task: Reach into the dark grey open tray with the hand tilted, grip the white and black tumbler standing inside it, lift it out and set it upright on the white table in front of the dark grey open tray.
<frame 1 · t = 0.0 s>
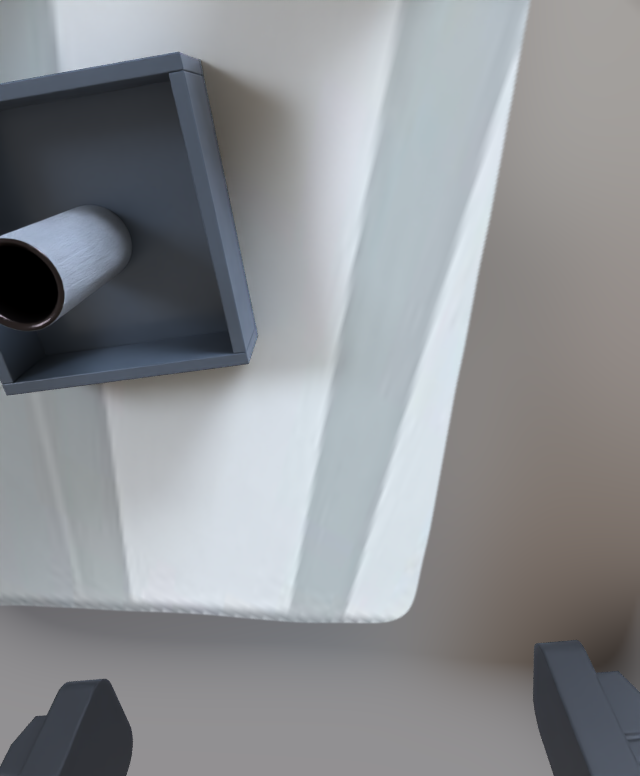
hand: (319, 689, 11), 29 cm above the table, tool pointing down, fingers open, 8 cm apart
white and black tumbler: (98, 240, 36), resting on dark grey open tray
dark grey open tray: (111, 230, 36), on the table
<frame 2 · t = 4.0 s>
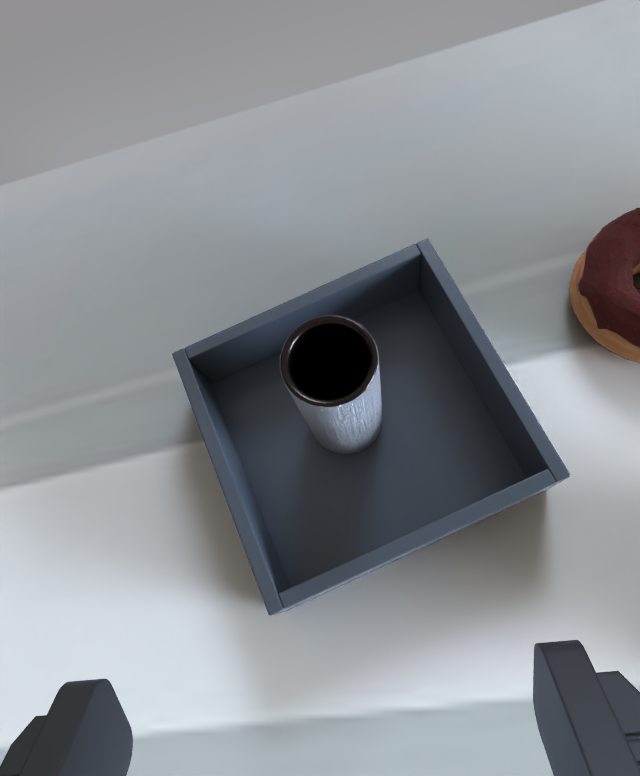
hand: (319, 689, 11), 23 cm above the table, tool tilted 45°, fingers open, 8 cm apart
white and black tumbler: (346, 420, 36), resting on dark grey open tray
dark grey open tray: (360, 431, 35), on the table
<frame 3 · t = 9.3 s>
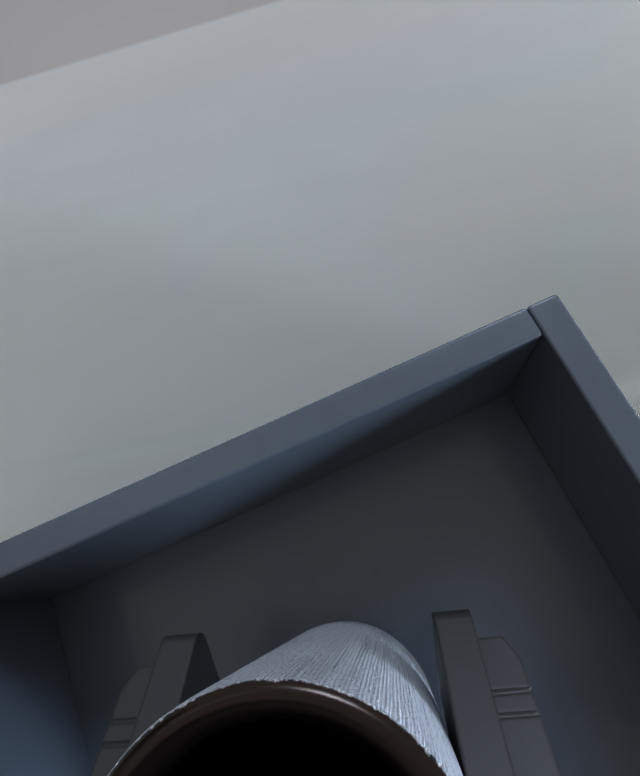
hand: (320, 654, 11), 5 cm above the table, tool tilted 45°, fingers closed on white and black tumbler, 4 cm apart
white and black tumbler: (348, 709, 15), resting on dark grey open tray, touching gripper
dark grey open tray: (381, 740, 15), on the table
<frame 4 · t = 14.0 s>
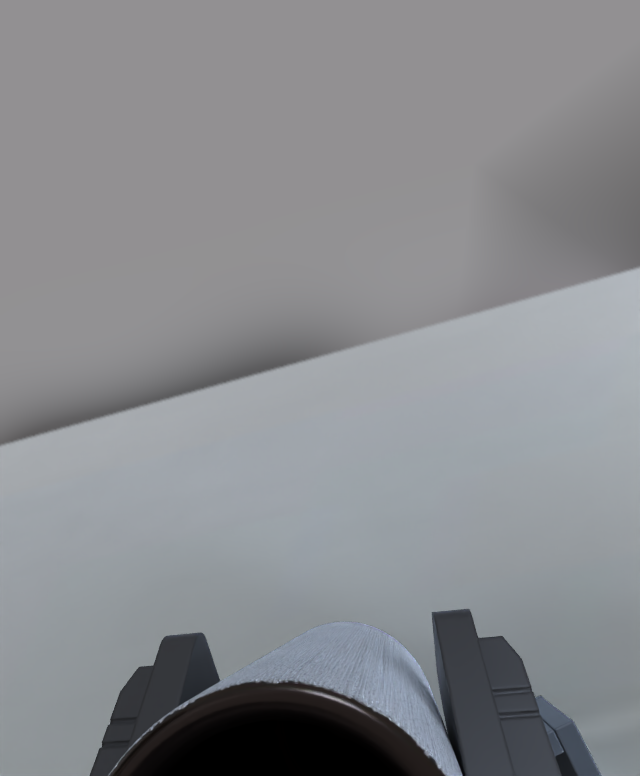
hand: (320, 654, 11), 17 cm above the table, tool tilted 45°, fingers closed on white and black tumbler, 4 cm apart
white and black tumbler: (348, 710, 15), point 12 cm above the table, touching gripper
when the fingers open (5 cm above the table, at t = 18.6 s): white and black tumbler stays where it is, on the table.
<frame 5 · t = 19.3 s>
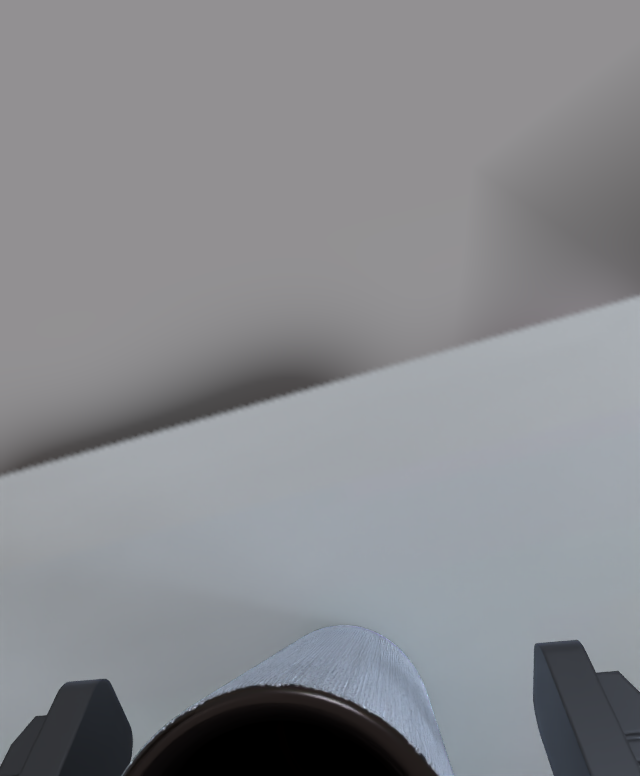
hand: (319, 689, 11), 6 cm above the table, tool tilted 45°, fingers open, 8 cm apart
white and black tumbler: (347, 711, 16), on the table
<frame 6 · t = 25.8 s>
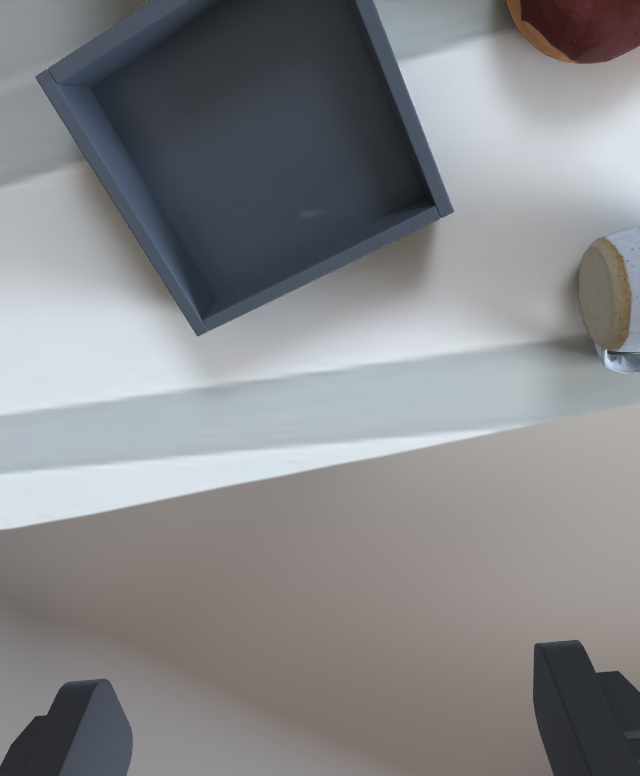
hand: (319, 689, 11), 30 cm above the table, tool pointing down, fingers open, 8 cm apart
ceramic mug: (637, 289, 38), on the table
dark grey open tray: (263, 142, 34), on the table
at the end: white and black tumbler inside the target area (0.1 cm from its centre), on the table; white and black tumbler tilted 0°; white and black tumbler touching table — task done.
